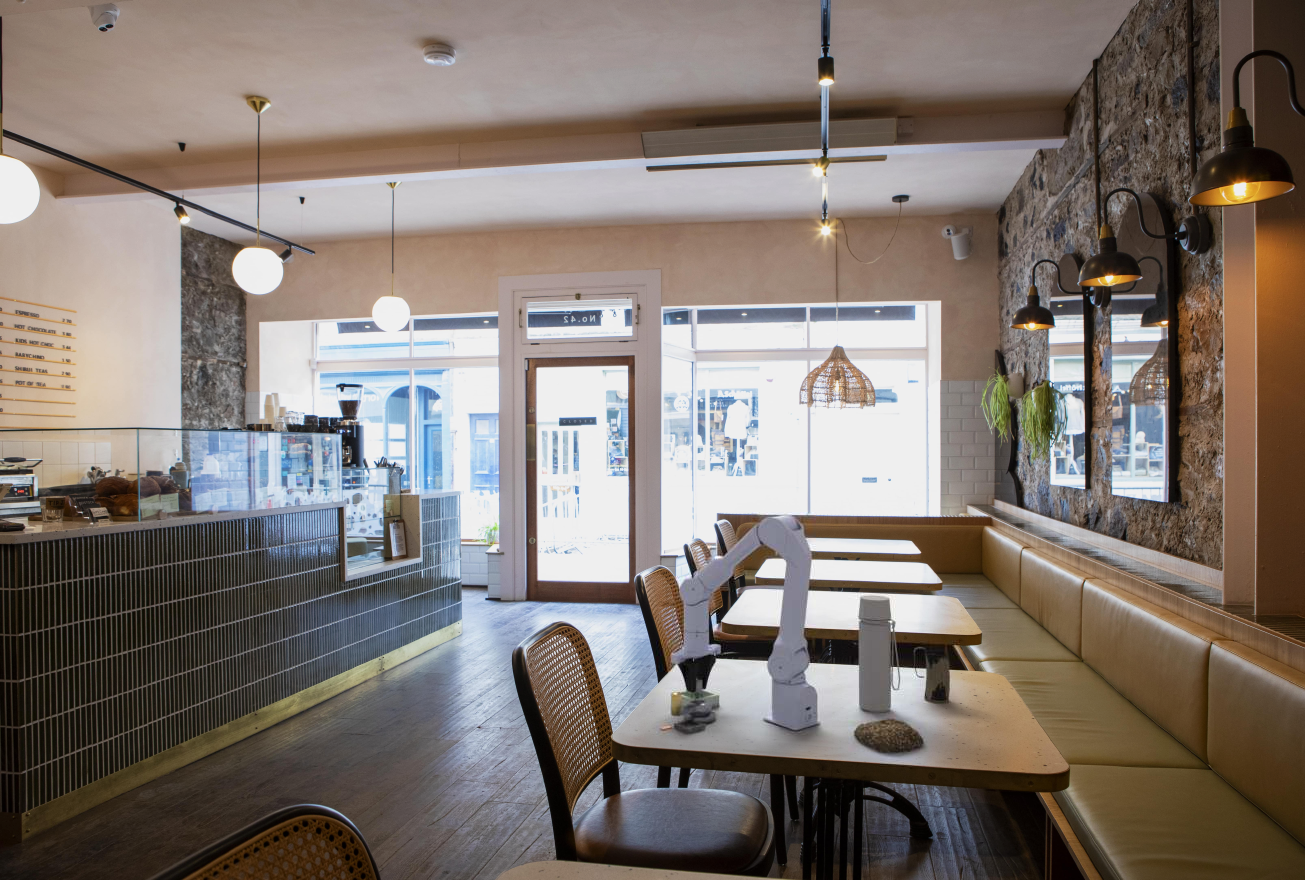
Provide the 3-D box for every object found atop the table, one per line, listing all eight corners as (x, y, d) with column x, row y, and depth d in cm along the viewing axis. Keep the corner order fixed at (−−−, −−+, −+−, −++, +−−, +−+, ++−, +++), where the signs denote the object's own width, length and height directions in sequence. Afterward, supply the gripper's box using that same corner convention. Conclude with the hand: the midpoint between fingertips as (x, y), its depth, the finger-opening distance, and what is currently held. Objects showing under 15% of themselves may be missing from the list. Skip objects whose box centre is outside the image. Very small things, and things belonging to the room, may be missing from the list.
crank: (700, 707, 187) (700, 682, 187) (716, 712, 183) (716, 687, 183) (664, 717, 180) (664, 691, 180) (680, 723, 176) (680, 696, 176)
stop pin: (704, 703, 192) (704, 679, 192) (694, 705, 191) (694, 681, 191) (699, 700, 195) (699, 676, 195) (689, 702, 194) (689, 678, 194)
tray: (719, 705, 192) (719, 694, 193) (694, 711, 188) (694, 700, 188) (697, 698, 198) (697, 687, 198) (673, 703, 194) (673, 693, 194)
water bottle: (854, 711, 188) (853, 599, 189) (862, 701, 195) (862, 593, 196) (896, 717, 184) (895, 602, 184) (903, 707, 191) (903, 596, 191)
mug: (948, 697, 199) (948, 646, 199) (951, 704, 194) (951, 651, 194) (913, 695, 201) (913, 644, 201) (915, 701, 196) (914, 649, 196)
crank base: (730, 722, 181) (730, 717, 181) (678, 736, 172) (678, 731, 172) (701, 711, 188) (701, 707, 188) (650, 724, 179) (650, 720, 179)
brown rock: (877, 756, 161) (877, 730, 161) (846, 735, 173) (846, 711, 173) (936, 750, 165) (936, 725, 165) (901, 730, 177) (901, 706, 177)
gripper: (705, 623, 201) (705, 680, 201) (661, 632, 191) (661, 692, 191) (727, 627, 196) (727, 686, 196) (683, 637, 186) (683, 699, 186)
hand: (696, 689), depth 193 cm, fingers open, 3 cm apart
